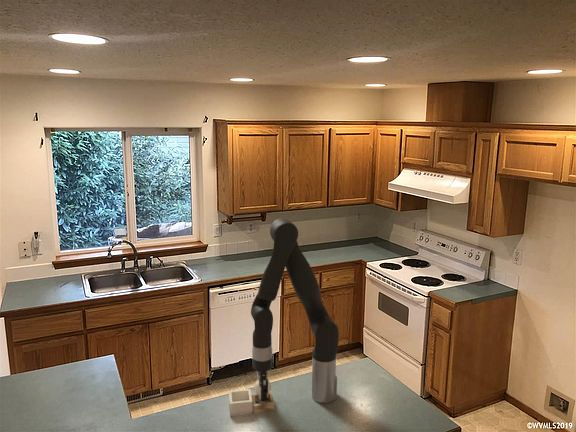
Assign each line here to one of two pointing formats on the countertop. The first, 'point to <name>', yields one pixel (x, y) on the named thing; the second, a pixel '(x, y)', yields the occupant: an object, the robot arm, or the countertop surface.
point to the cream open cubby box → (240, 402)
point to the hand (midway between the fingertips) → (262, 395)
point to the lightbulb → (257, 389)
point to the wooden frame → (263, 404)
